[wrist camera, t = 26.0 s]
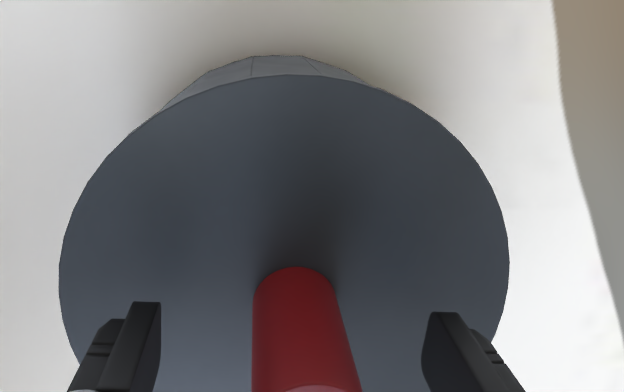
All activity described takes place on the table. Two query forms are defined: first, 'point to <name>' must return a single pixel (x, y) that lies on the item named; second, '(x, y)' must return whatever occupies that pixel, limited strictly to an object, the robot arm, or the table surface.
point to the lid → (287, 238)
